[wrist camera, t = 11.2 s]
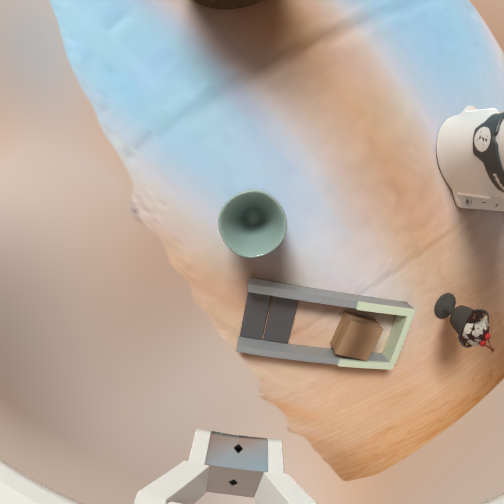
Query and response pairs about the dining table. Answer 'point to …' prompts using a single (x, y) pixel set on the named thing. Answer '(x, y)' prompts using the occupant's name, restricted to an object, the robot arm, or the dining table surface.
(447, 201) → the dining table surface
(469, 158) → the robot arm
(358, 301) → the box
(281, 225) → the cup
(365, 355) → the block
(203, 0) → the wooden container
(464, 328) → the sundae
